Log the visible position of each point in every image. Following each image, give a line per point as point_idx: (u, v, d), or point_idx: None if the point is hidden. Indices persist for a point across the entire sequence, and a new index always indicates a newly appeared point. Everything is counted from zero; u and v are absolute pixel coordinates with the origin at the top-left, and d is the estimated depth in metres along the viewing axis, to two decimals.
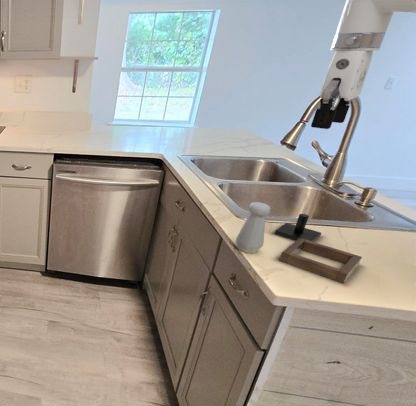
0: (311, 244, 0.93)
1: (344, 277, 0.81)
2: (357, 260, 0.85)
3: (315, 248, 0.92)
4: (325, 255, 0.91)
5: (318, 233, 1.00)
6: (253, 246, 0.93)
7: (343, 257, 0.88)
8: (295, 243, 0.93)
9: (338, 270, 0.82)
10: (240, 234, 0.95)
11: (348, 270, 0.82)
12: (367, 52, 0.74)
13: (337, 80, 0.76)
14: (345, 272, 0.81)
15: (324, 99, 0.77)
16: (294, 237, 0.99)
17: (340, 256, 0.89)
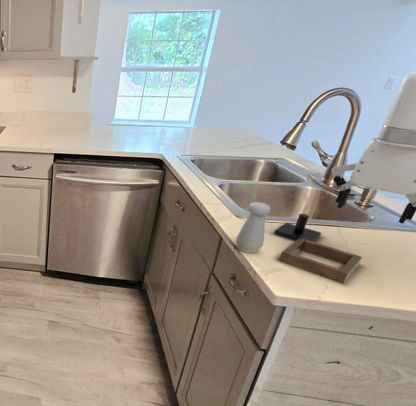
0: (311, 244, 0.93)
1: (344, 277, 0.81)
2: (357, 260, 0.85)
3: (315, 248, 0.92)
4: (325, 255, 0.91)
5: (318, 233, 1.00)
6: (253, 246, 0.93)
7: (343, 257, 0.88)
8: (295, 243, 0.93)
9: (338, 270, 0.82)
10: (240, 234, 0.95)
11: (348, 270, 0.82)
12: None
13: None
14: (345, 272, 0.81)
15: None
16: (294, 237, 0.99)
17: (340, 256, 0.89)
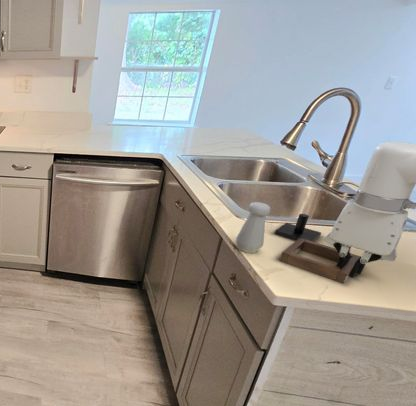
0: (311, 244, 0.93)
1: (344, 277, 0.81)
2: None
3: (315, 248, 0.92)
4: (325, 255, 0.91)
5: (318, 233, 1.00)
6: (253, 247, 0.93)
7: None
8: (295, 243, 0.93)
9: (338, 270, 0.82)
10: (240, 234, 0.95)
11: (348, 270, 0.82)
12: None
13: None
14: (345, 272, 0.81)
15: None
16: (294, 237, 0.99)
17: None
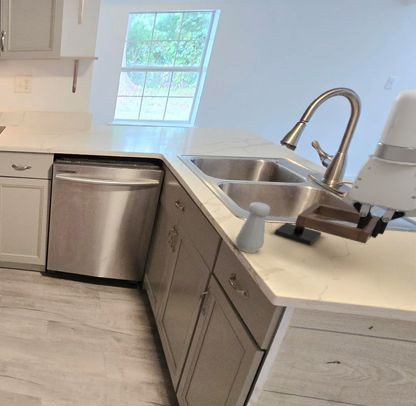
0: (328, 208, 0.89)
1: (366, 237, 0.77)
2: None
3: (332, 212, 0.88)
4: (343, 218, 0.87)
5: (318, 233, 1.00)
6: (253, 246, 0.93)
7: None
8: (311, 207, 0.89)
9: (359, 230, 0.77)
10: (240, 234, 0.95)
11: (370, 229, 0.77)
12: None
13: None
14: (367, 231, 0.77)
15: None
16: (294, 237, 0.99)
17: (359, 218, 0.84)
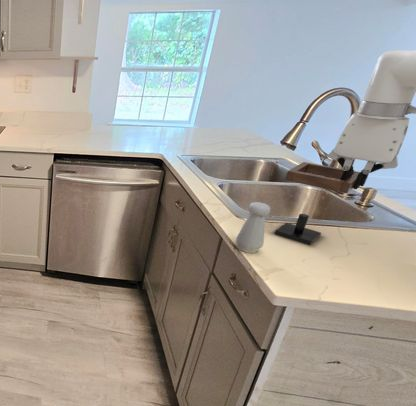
0: (315, 166, 0.96)
1: (348, 187, 0.84)
2: None
3: (319, 169, 0.96)
4: (328, 175, 0.95)
5: (318, 233, 1.00)
6: (253, 246, 0.93)
7: None
8: (299, 165, 0.96)
9: (342, 181, 0.85)
10: (240, 234, 0.95)
11: (351, 181, 0.85)
12: None
13: None
14: (349, 182, 0.84)
15: None
16: (294, 237, 0.99)
17: None
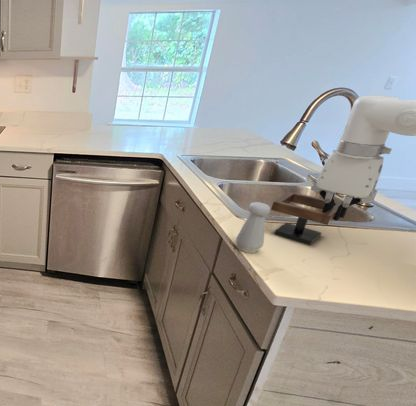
0: (300, 196, 1.03)
1: (328, 219, 0.91)
2: None
3: (303, 199, 1.02)
4: (312, 205, 1.01)
5: (318, 233, 1.00)
6: (253, 246, 0.93)
7: None
8: (285, 195, 1.03)
9: (323, 213, 0.92)
10: (240, 234, 0.95)
11: (332, 213, 0.91)
12: None
13: None
14: (329, 215, 0.91)
15: None
16: (294, 237, 0.99)
17: None
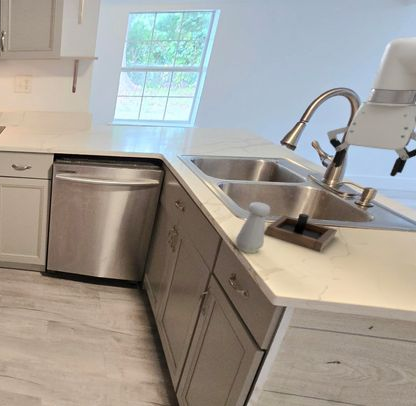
0: (293, 220, 1.05)
1: (320, 246, 0.93)
2: (332, 232, 0.98)
3: None
4: None
5: (318, 233, 1.00)
6: (253, 246, 0.93)
7: (321, 230, 1.01)
8: (279, 219, 1.05)
9: (315, 240, 0.94)
10: (240, 234, 0.95)
11: (324, 240, 0.94)
12: None
13: None
14: (321, 241, 0.93)
15: None
16: None
17: (318, 230, 1.01)
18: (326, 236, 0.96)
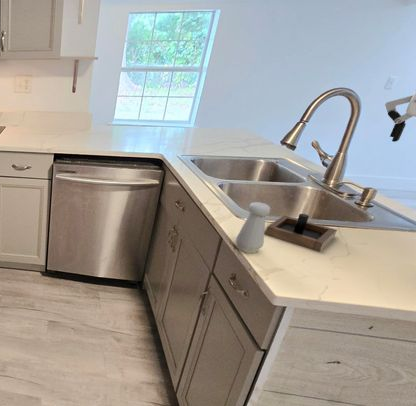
0: (293, 220, 1.05)
1: (320, 246, 0.93)
2: (332, 232, 0.98)
3: None
4: None
5: (318, 233, 1.00)
6: (253, 247, 0.93)
7: (321, 230, 1.01)
8: (279, 219, 1.05)
9: (315, 240, 0.94)
10: (240, 234, 0.95)
11: (324, 240, 0.94)
12: None
13: None
14: (321, 241, 0.93)
15: None
16: None
17: (318, 230, 1.01)
18: (326, 236, 0.96)
